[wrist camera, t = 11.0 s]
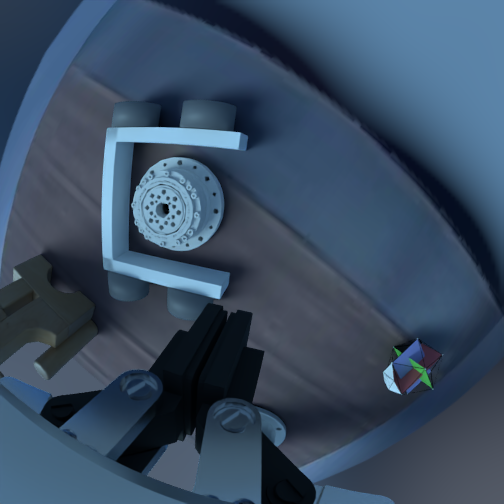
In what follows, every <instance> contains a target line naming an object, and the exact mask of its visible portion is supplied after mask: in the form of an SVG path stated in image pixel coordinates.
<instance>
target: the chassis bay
mask: <svg viewBox="0 0 504 504" xmlns="http://www.w3.org/2000/svg"><path fill="white" fill-rule="evenodd" d="M236 110H237V107H236V106H234V105H232V104H228V103H224V102H219V101H212V100H187V101H184V102H183V108H182V114H181V121H180V127H181V128H166V127H158V125H159V118H160V111H161V105H159V104H155V103H150V102H140V101H126V102H118V103H115V106H114V112H113V119H112V127H117V128H107V134H106V143H105V154H104V166H103V184H102V251H103V268H104V269H105V270H108V286H109V294H110V295H111V296H112V297H113V298H115V299H117V300H120V301H137V300H140V299H142V298H144V297H146V296H147V295H148V293H149V282H152V283H155V284H159V285H163V286H167V287H168V290H167V308H168V311H169V312H170V313H171V314H172V315H173V316H175V317H177V318H180V319H183V320H197V318H198V317H199V315H200V314H201V312H202V311H203V309H204V308H205V306H206V305H207V304H208V303H212V304H213V298H216V299H220V298H221V297H222V295H223V293H224V292H225V290H226V288H227V287H228V285H229V276H230V273H229V272H224V271H219V270H214V269H210V268H205V267H200V266H196V265H191V264H186V263H182V262H177V261H173V260H168V259H164V258H159V257H155V256H151V255H146V254H142V253H138V252H133V251H129V204H130V185H131V171H132V159H133V149H134V142H138V143H164V144H181V145H195V146H206V147H217V148H226V149H235V150H243V151H246V148H247V141H248V136H247V135H245V134H243V133H240V132H233V130H234V123H235V117H236Z"/></svg>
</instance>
